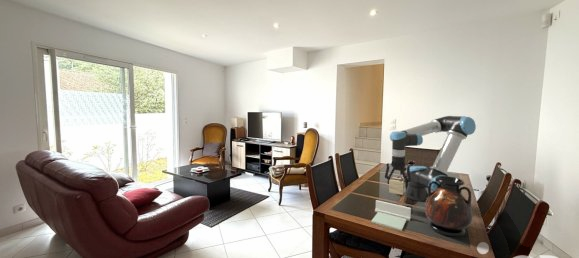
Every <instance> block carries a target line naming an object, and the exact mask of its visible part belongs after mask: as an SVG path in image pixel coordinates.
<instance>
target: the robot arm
mask: <svg viewBox="0 0 579 258" xmlns="http://www.w3.org/2000/svg"><path fill="white" fill-rule="evenodd" d="M476 128H477V125H476V121H475V120H474V118H472V117H470V116H465V115H464V116H463V115H462V116H461V115H459V116H458V115H446V116H442V117H439V118H434V119H432V120H431V121H430V122H427V123H424V124H420V125H417V126H413V127H410V128H407V129H404V130H399V131H397V130H396V131H392V132H391V133H390V134H389V140H390V141H391V142H392V143H391V144H392V145H391V148H392V149H391V154H392V155H391V162H390V163H389V162H387V163H386V165H385V166H386V170H385V174H384V178H385V179H386V180H387V184H388V185H389V182H390V179H391V178H392V177H393V174H394V173H395V171H399V172H400V173H401V175H402V177H403V179H404V180H405V182H404V196H405V197H406V198H407V199H409V200H413V201H418V202H426V199H427V197H428V187H429V183H430V182H431V181H435V182H437V183H438V184H439V182H438V181H436V180H435V178H436V177H438V176H448V177H449V173H448V170H449V167H450V166H451V165H452V164H451V163H452V162H453V160H454V158H455V156H456V154H457V152H458V150H459V148H460V145H461V143H462V141H464V140H466V139H467V138H468V136H470V135H473V134H475V131H476ZM442 132H445V133H446V134H447V136H446V138H445V140H444V141H443V144H442V146H441V148H440V150H439V151H438V154H437V156H436V158H435V160H434V162H433V165H431V166H429V167H427V166H424V165H412V166H411V165H406V162H405V161H406V157H405V156H406V147H416V146H420V145H422V144H423V141H424V139H423V136H426V135H429V134H433V133H438V134H439V133H442ZM390 167H392V169H391V171H390ZM405 169H406V172H405ZM389 171H390V172H389ZM406 173H407V175H406ZM436 189H437V185H436V184H432V185H431V191H432V192H433V191H435V190H436Z"/></svg>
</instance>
